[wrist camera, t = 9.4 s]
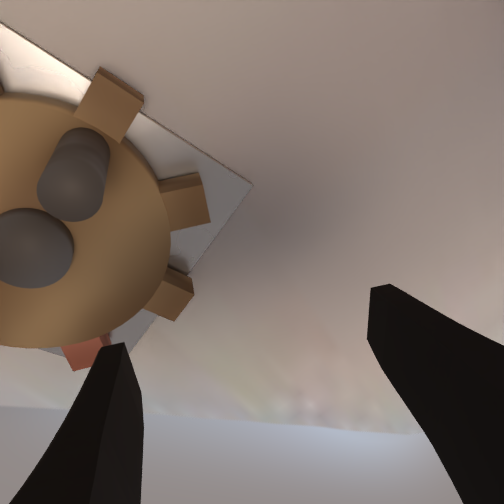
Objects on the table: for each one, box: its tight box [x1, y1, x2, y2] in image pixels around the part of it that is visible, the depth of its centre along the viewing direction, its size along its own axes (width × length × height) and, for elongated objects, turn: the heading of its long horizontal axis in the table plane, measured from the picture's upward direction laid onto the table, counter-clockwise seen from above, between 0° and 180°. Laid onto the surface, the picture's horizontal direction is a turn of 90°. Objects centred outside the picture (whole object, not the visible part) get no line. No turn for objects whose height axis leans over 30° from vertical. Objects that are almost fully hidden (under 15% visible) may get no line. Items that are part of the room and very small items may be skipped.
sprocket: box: [0, 67, 211, 371], centre depth 16 cm, size 14×14×6 cm
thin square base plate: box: [0, 22, 253, 357], centre depth 19 cm, size 14×13×1 cm
